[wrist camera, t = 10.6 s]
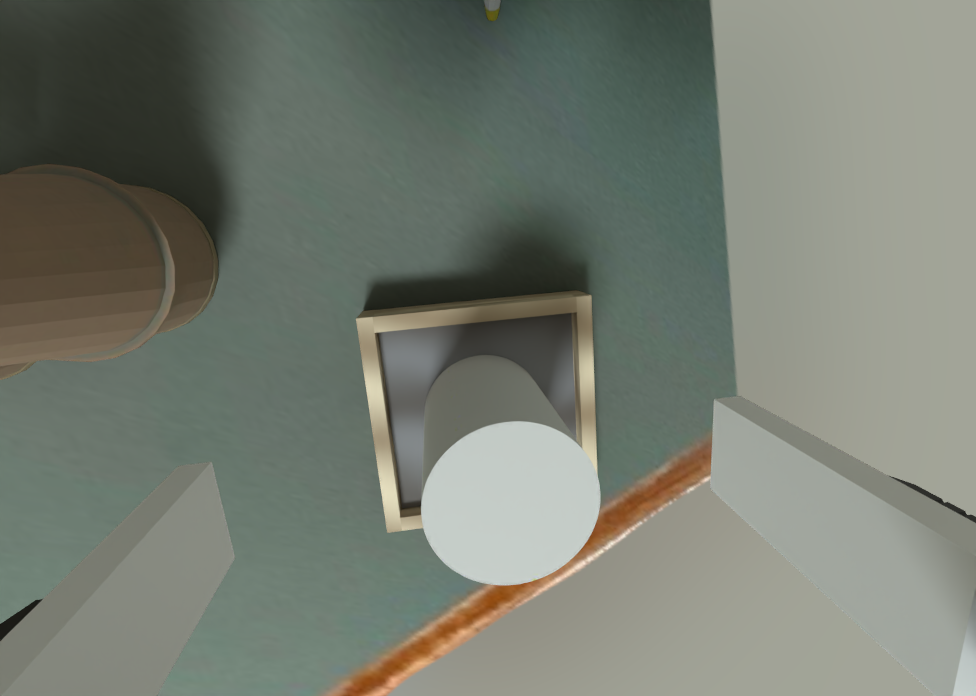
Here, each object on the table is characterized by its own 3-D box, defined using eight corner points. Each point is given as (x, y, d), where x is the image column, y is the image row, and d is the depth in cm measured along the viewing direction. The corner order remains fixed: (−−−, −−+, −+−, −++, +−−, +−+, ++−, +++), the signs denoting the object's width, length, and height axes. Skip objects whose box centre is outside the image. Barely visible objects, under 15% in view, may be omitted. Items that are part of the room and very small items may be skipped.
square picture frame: (362, 311, 33) (355, 318, 30) (576, 290, 35) (591, 295, 32) (390, 507, 37) (387, 532, 34) (584, 481, 38) (598, 503, 35)
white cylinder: (405, 441, 33) (391, 551, 22) (455, 335, 32) (469, 392, 20) (510, 482, 35) (550, 606, 23) (562, 383, 34) (631, 461, 22)
